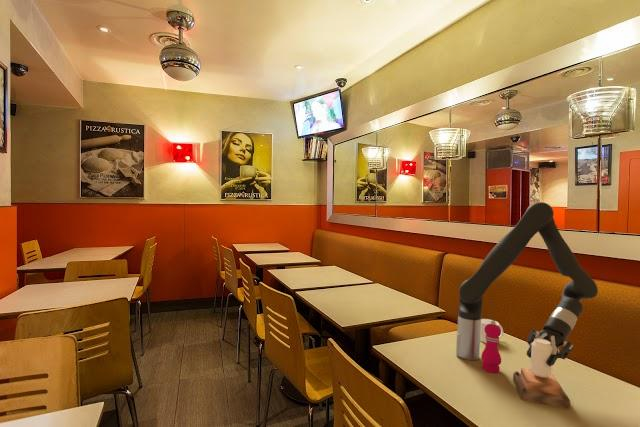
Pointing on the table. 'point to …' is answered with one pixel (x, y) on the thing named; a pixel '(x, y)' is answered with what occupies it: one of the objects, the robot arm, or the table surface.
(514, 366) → the table surface
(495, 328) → the pepper mill
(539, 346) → the beverage can
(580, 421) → the table surface
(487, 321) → the mug
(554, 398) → the brick plinth
